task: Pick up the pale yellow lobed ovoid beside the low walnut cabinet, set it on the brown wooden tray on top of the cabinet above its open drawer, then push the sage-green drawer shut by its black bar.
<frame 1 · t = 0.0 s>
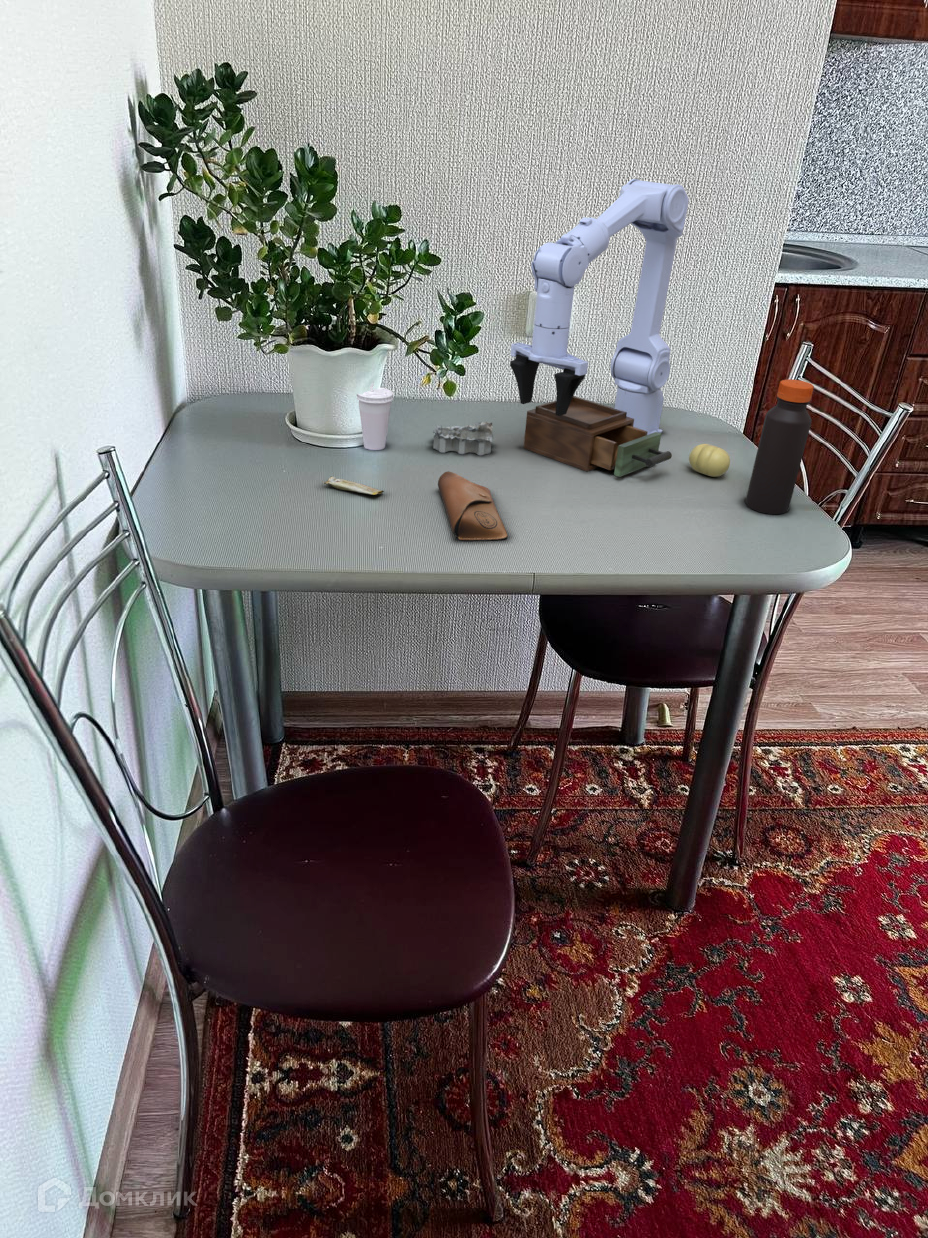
hand: (543, 408, 150), 10 cm above the table, tool pointing down, fingers open, 7 cm apart
pale yellow lobed ovoid: (706, 473, 156), on the table
bottle: (766, 507, 145), on the table
smoothie: (374, 447, 159), on the table
brown wooden tray: (580, 414, 159), resting on cabinet
sunglasses case: (471, 516, 136), on the table
drawer: (618, 447, 155), point 3 cm above the table, slide at 5.0 cm
snack bar: (352, 491, 141), on the table
cabinet: (575, 452, 162), on the table
egg carton: (462, 448, 161), on the table
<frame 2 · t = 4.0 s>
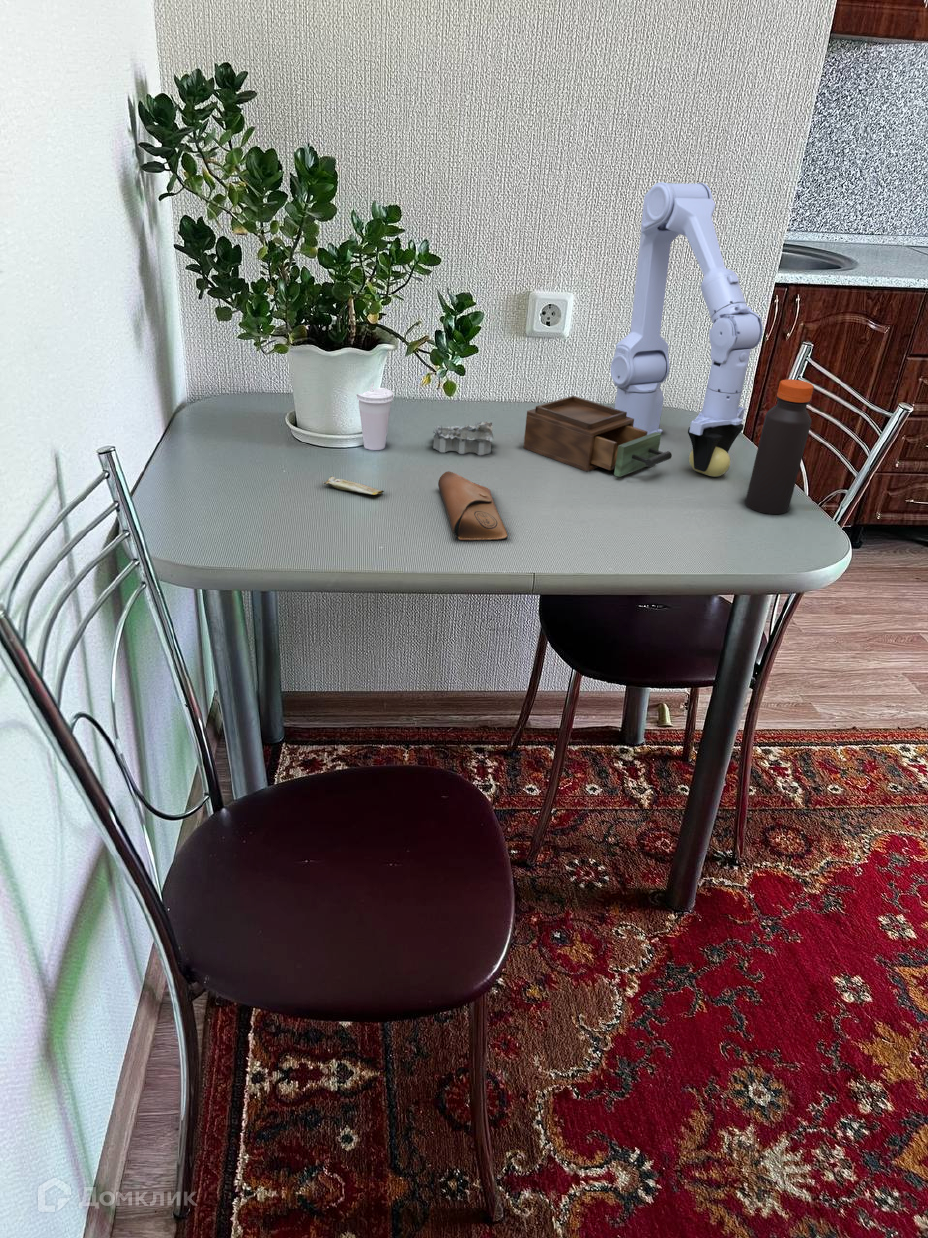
hand: (708, 466, 156), 1 cm above the table, tool pointing down, fingers closed on pale yellow lobed ovoid, 5 cm apart
pale yellow lobed ovoid: (706, 473, 157), on the table, touching gripper
everything else where it was.
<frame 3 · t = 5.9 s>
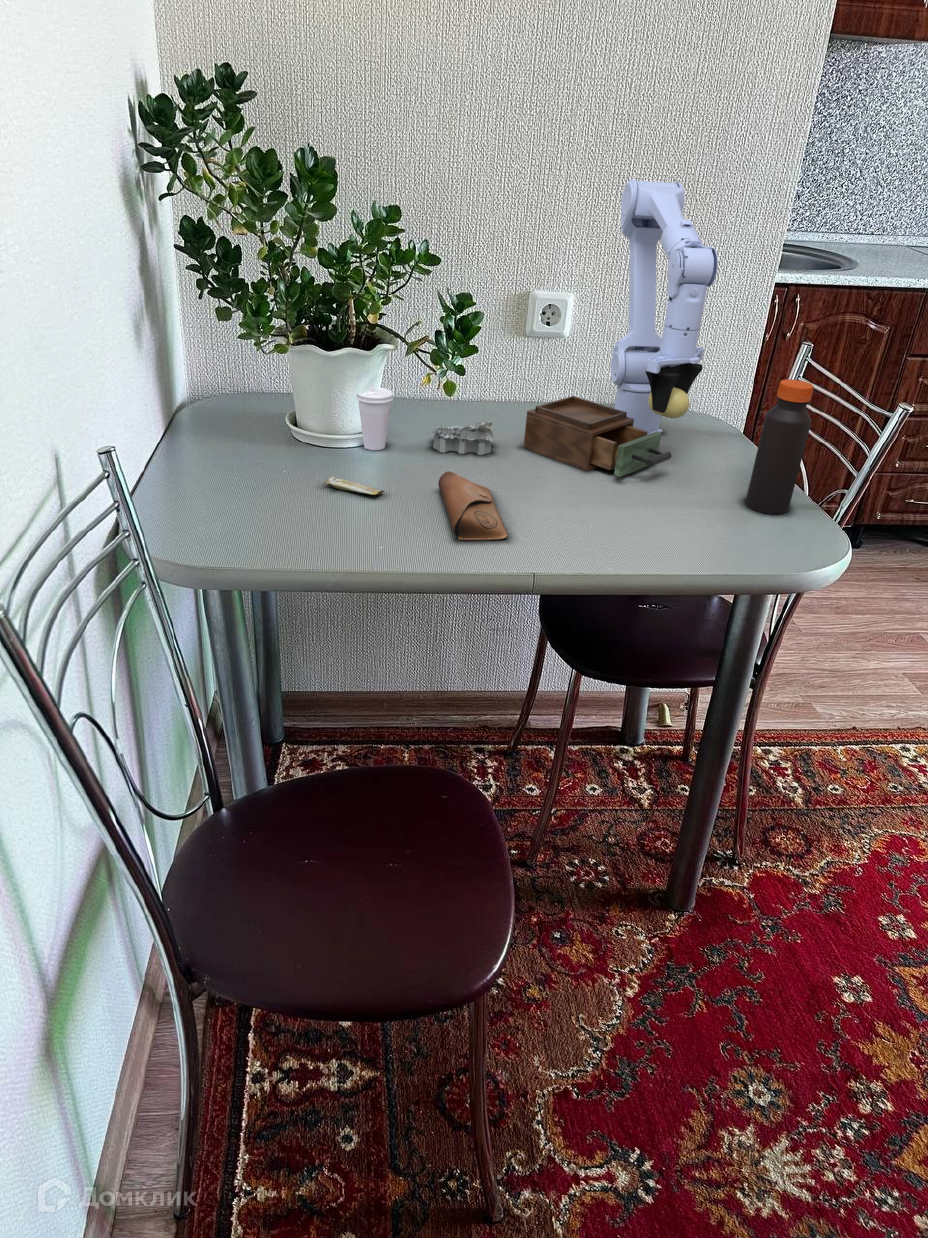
hand: (667, 407, 153), 10 cm above the table, tool pointing down, fingers closed on pale yellow lobed ovoid, 5 cm apart
pale yellow lobed ovoid: (666, 416, 154), point 9 cm above the table, touching gripper
everything else where it was.
when the fingers open (8 cm above the table, at t = 8.1 s): pale yellow lobed ovoid stays where it is, resting on cabinet.
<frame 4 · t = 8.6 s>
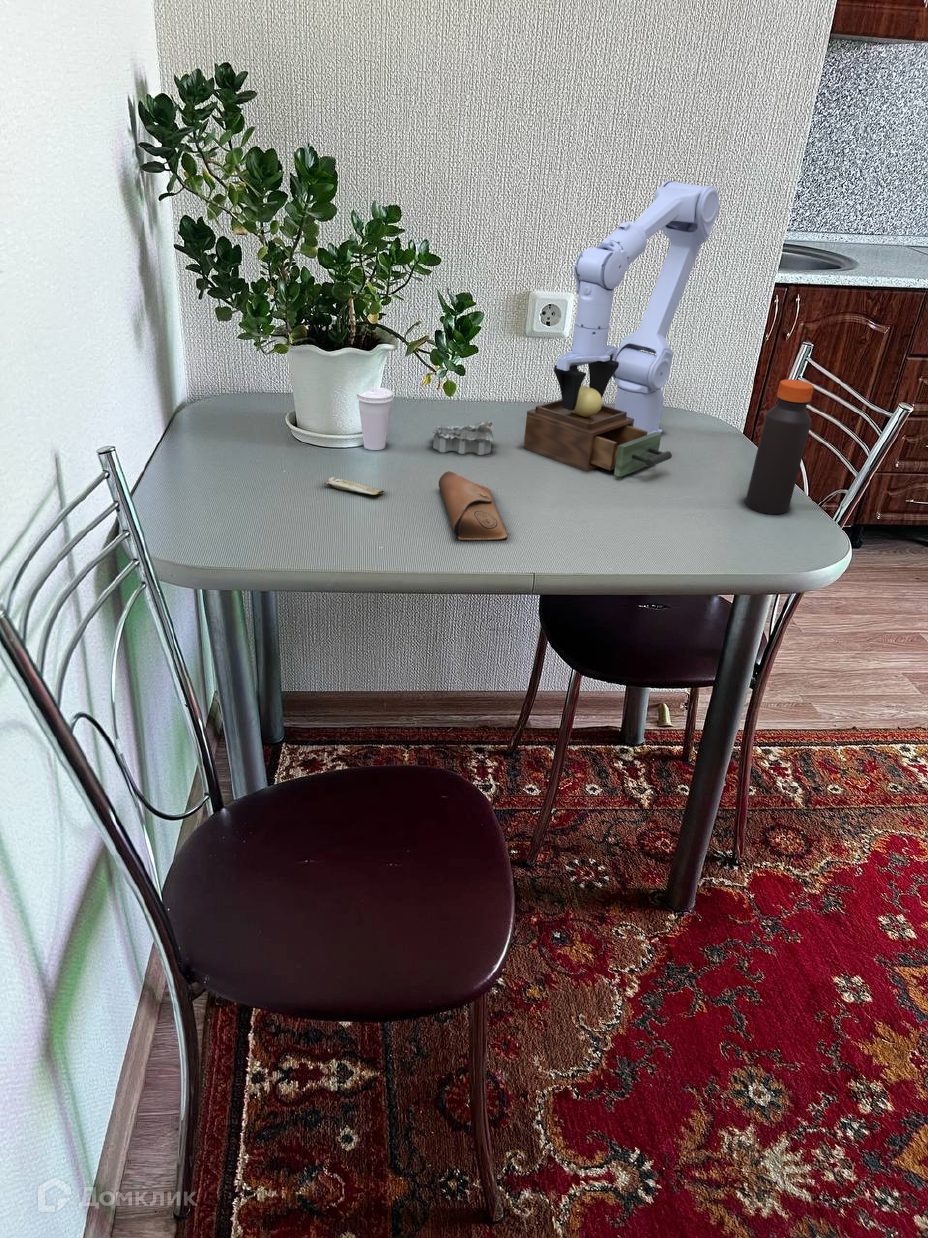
hand: (581, 404, 158), 9 cm above the table, tool pointing down, fingers open, 7 cm apart
pale yellow lobed ovoid: (580, 414, 159), point 7 cm above the table, touching cabinet
everything else where it was.
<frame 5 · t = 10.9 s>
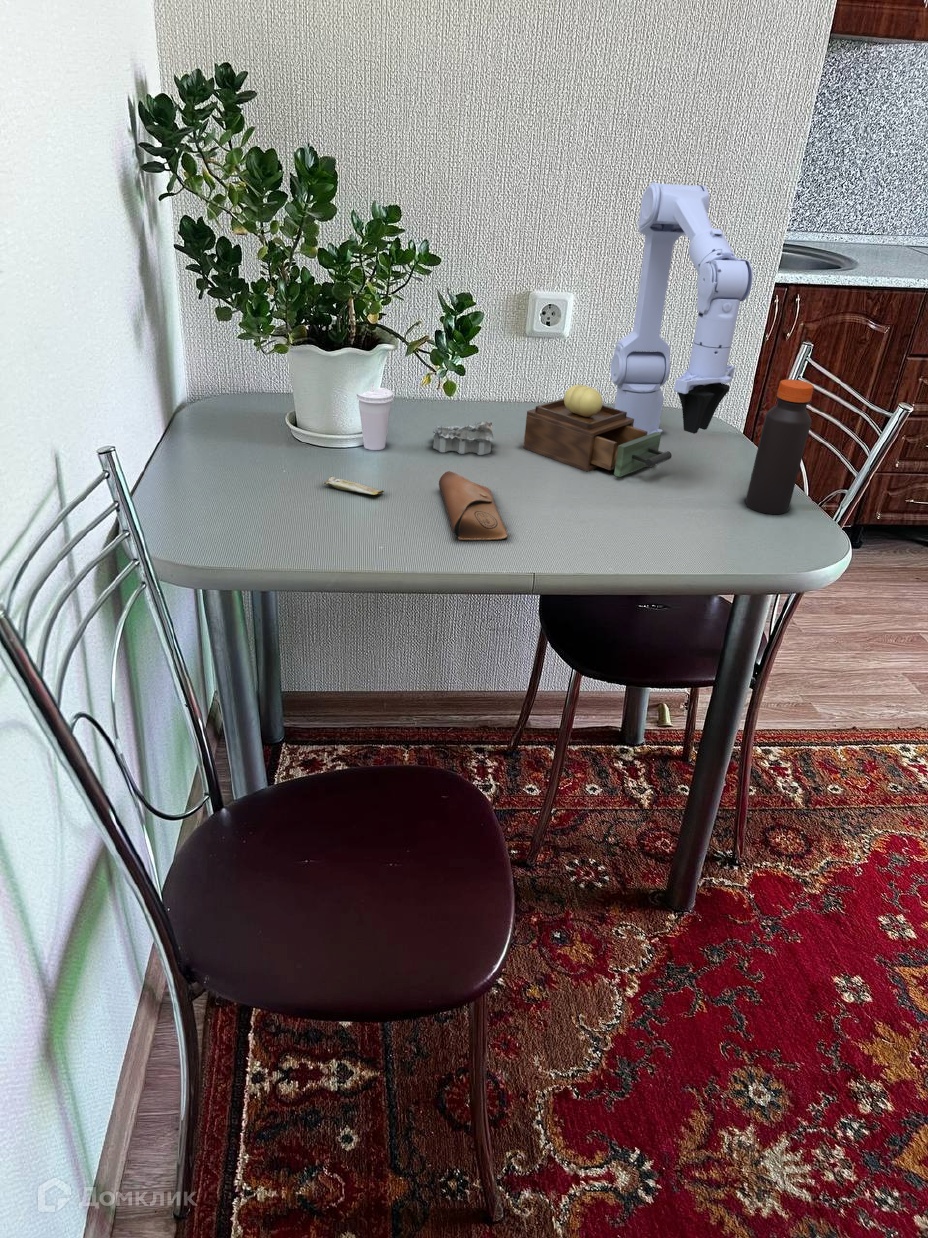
hand: (695, 429, 144), 10 cm above the table, tool pointing down, fingers closed
nothing on the table moved.
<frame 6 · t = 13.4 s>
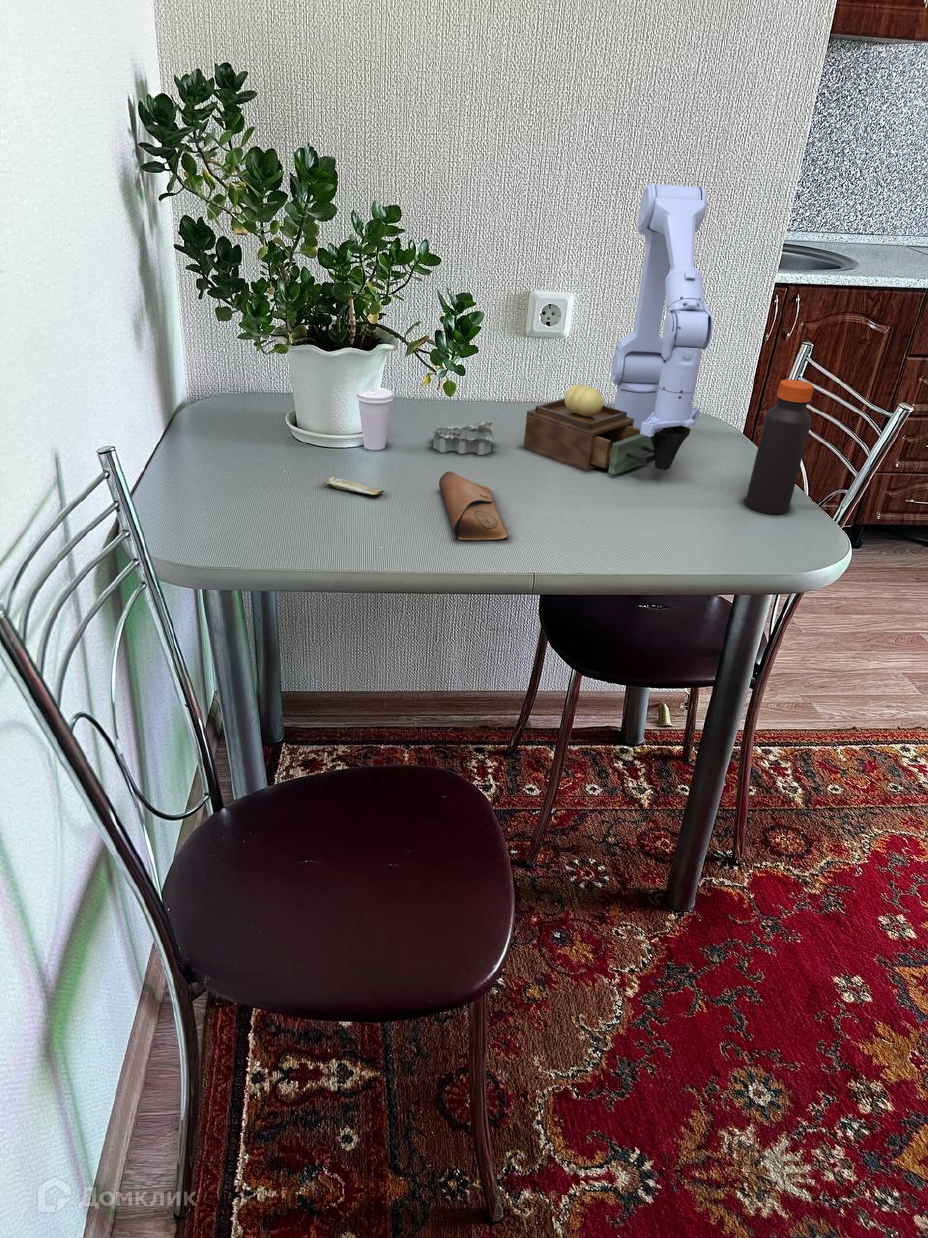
hand: (662, 468, 151), 2 cm above the table, tool pointing down, fingers closed, pressing on drawer
drawer: (613, 445, 156), point 3 cm above the table, slide at 3.8 cm, touching gripper
everything else where it was.
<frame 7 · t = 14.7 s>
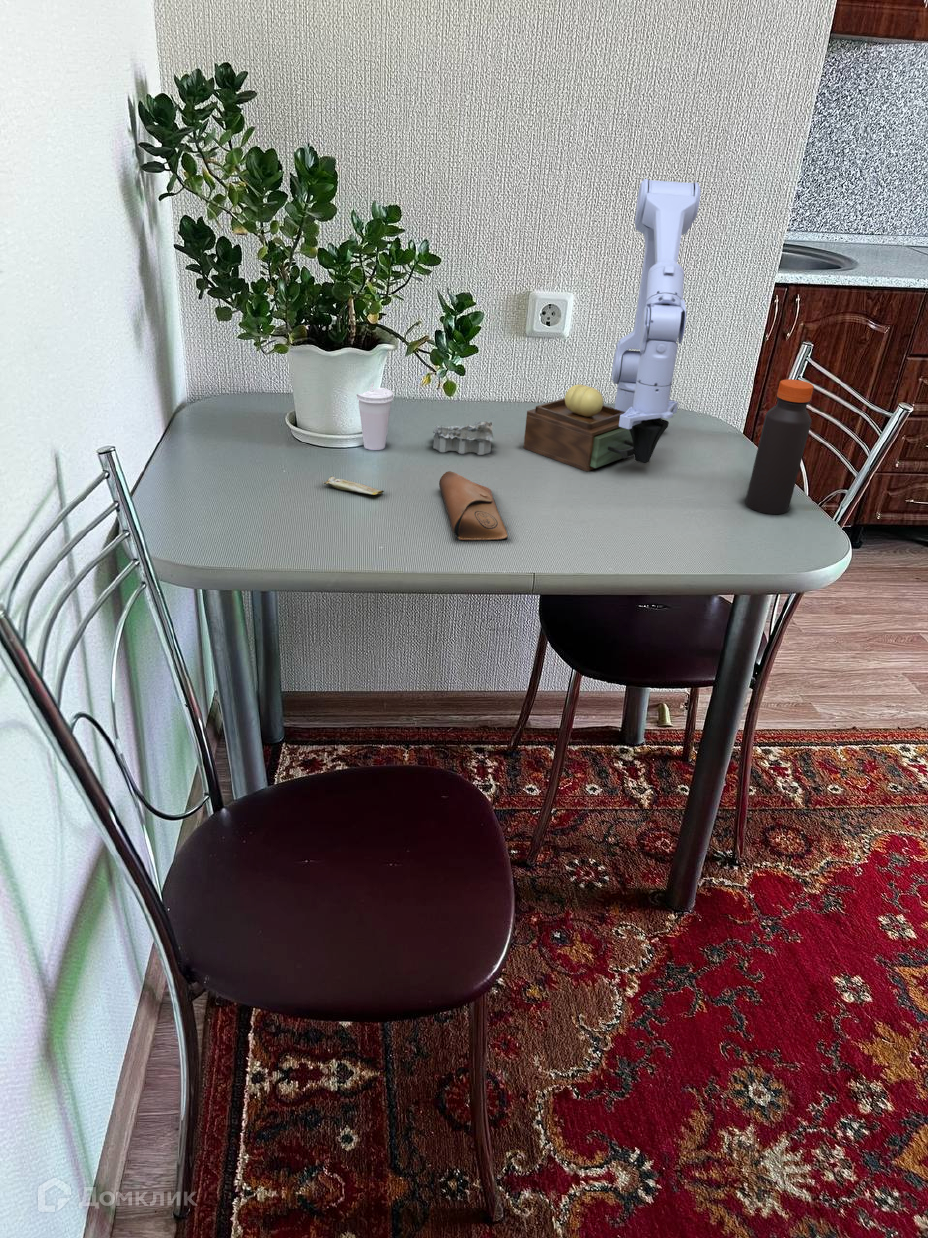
hand: (641, 461, 153), 2 cm above the table, tool pointing down, fingers closed, pressing on drawer
drawer: (595, 439, 158), point 3 cm above the table, slide at 0.0 cm, touching cabinet, gripper
everything else where it was.
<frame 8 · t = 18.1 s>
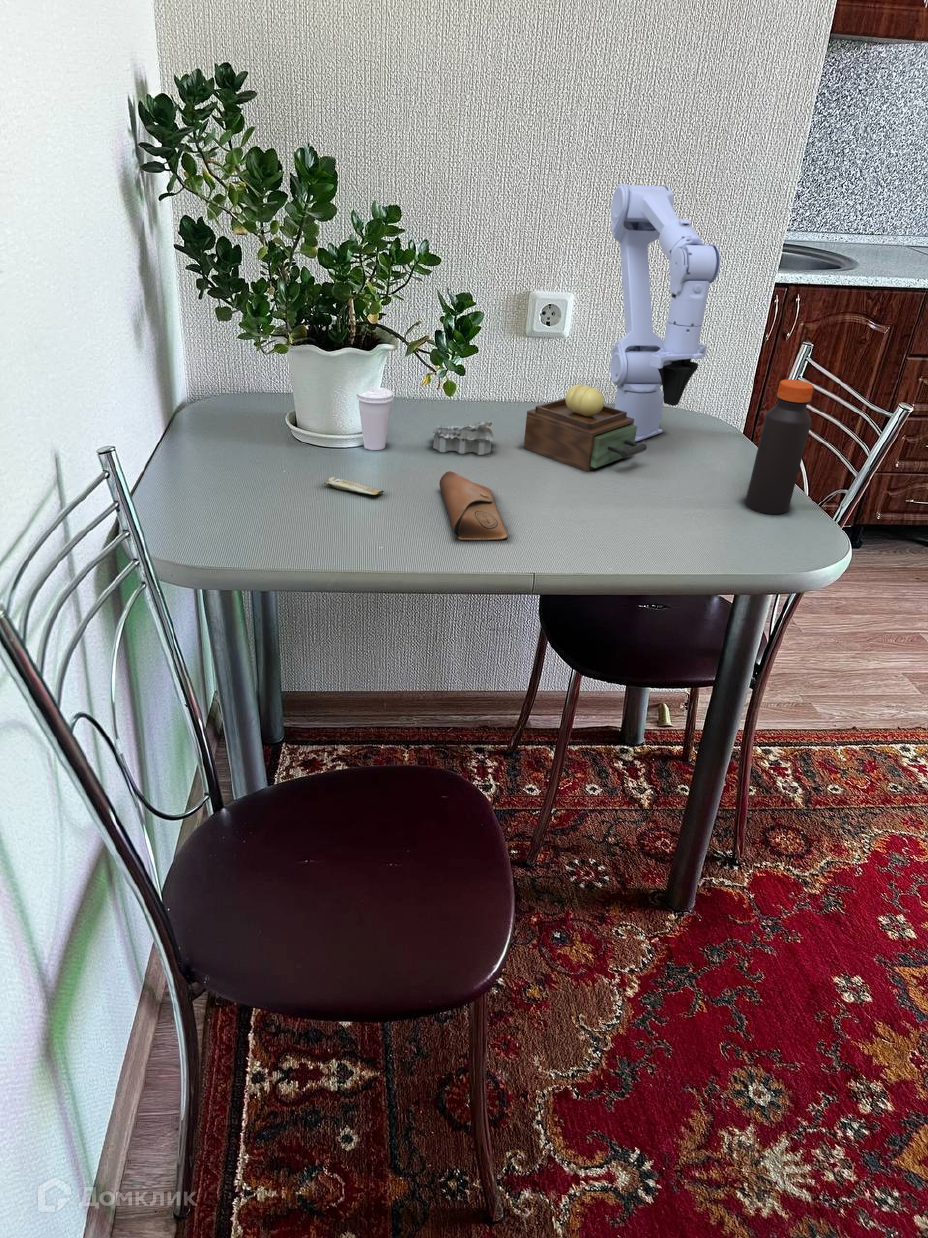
hand: (670, 403, 155), 10 cm above the table, tool pointing down, fingers closed
drawer: (595, 439, 158), point 3 cm above the table, slide at 0.0 cm, touching cabinet
everything else where it was.
at the end: pale yellow lobed ovoid inside the target area on the cabinet (0.0 cm from its centre), point 7.0 cm above the cabinet's base; drawer slide at 0.0 cm; the gripper is holding nothing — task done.
